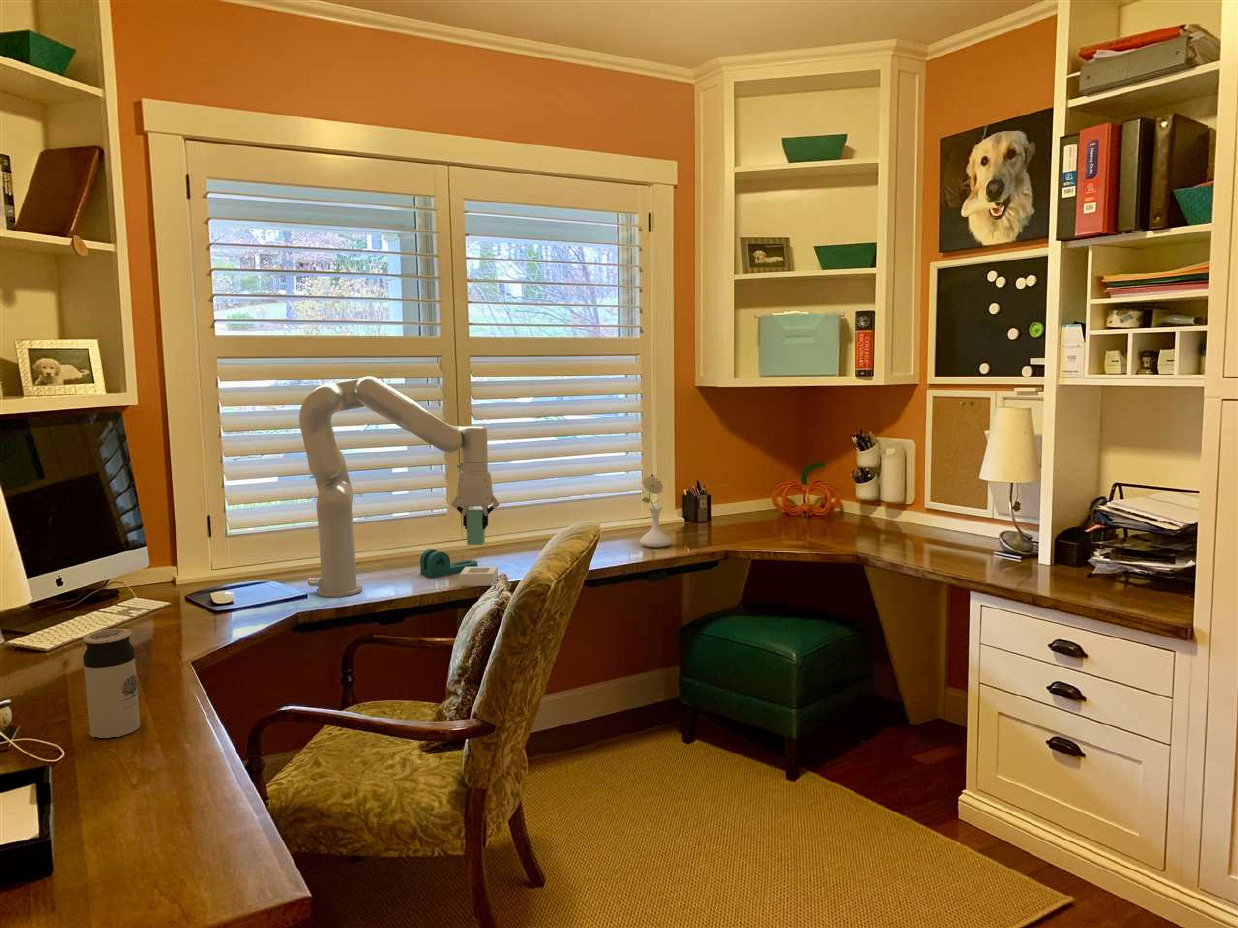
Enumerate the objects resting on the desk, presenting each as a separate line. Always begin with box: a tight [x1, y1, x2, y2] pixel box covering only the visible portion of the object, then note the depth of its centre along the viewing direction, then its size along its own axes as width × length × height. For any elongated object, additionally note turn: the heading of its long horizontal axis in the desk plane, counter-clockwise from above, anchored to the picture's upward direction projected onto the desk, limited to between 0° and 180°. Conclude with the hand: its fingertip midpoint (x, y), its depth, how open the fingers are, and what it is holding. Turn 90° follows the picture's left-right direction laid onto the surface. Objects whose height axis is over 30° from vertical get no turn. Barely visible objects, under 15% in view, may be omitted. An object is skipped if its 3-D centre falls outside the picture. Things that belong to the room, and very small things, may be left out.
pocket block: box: [459, 565, 499, 587], centre depth 270 cm, size 10×10×4 cm
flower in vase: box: [639, 475, 673, 548], centre depth 317 cm, size 13×11×25 cm
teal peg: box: [466, 508, 486, 546], centre depth 269 cm, size 4×4×10 cm
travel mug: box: [82, 628, 141, 739], centre depth 162 cm, size 8×8×18 cm
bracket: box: [419, 548, 479, 579], centre depth 284 cm, size 18×7×8 cm, turn 130°
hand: (475, 527), depth 269 cm, fingers closed on teal peg, 4 cm apart
